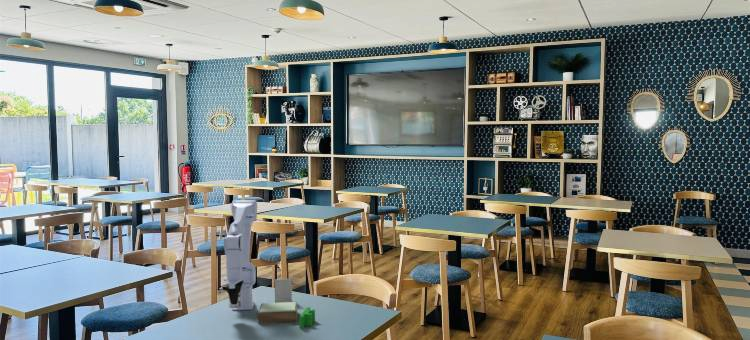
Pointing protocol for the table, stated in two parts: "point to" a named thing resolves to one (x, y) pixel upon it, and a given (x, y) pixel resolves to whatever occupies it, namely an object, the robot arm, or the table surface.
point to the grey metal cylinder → (237, 302)
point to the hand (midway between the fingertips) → (235, 302)
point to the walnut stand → (277, 312)
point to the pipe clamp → (307, 317)
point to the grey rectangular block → (283, 290)
